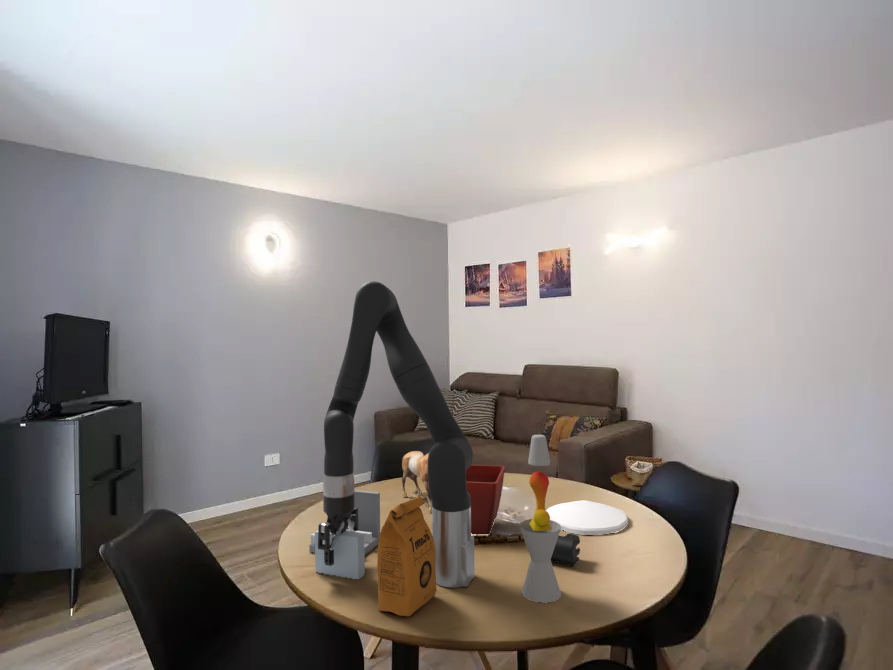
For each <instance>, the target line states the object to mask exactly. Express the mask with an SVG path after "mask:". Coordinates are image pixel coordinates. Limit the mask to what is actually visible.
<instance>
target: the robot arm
mask: <svg viewBox="0 0 893 670" xmlns="http://www.w3.org/2000/svg"><path fill="white" fill-rule="evenodd" d="M406 324H407V323H406V321H405V319H404V316H403V314H402V311H401V308H400V306H399V302H398V299H397V297H396V295H395V293H394V292H393V291H392V290H391V289H390V288H389V287H387V286H386V285H385V284H384V283H381V282H379V281H374V280H371V281H367V282H365V283H363V284H362V285H360V287H359V288H358V290H357V291H356V293H355V299H354V304H353V310H352V320H351V326H350V329H349V330H350V331H349V336H348V339H347V340H348V341H347V344H346V349H345V352H344V357H343V360H342V362H341V367H340V370H339V373H338V376H337V379H336V383H335V386H334V391H333V396H332V398H331V400H330V404H328V405H329V406H328V409H327V412H326V415H325V417H324V419H323V420H324V421H323V435H324V436H323V437H324V439H323V440H324V451H325V453H324V459H323V463H324V464H323V465H324V466H323V470H324V471H323V474H324V475H323V481H322V482H323V484H322V487H323V488H322V489H323V490H322V491H323V492H322V493H323V495H322V496H323V498H322V501H323V502H322V503H323V504H322V507H323V508H322V509H323V512H324V513H325V514H326V516H327V518H326V522H325V523H321V522H320V523H319V524H318V549H320V550H324V563H325V565H328V566H332V565H333V564H334V546H335V543H336V541H338V539H339V536H340V534H341V533H343V532H344V531H351V532H355V531H358V529H359V525H358V508H355V490H356V489H355V476H354V453H353V449H354V447H353V446H354V427H355V425H354V424H355V423H354V420H355V416H356V412H357V408H358V404H359V402H360V401H361V399H362V397H363V394H364V391H365V388H366V384H367V382H368V377H369V373H370V371H371V370H370V369H371V363H372V353H373V345H374V340H375V336H376V333H377V334H378V337H379V339H380V340H381V342H382V345H383V349H384V351H385V356H386V360H387V361H386V362H387V364H388V365H387V366H388V368H389V371H390V374H391V376H392V379H393V381H394V383H395V385H396V388H397V389H398V392H399V394H400V395H401V397H402V399H403V400H404V402H405V403H406V404H407V405H408V406H409V408H410V409H411V410H413V412H414V413H415V414H416V415H417V417H419V418H420V419H421V421H422V422H423V423H424V425H425V426H426V428H427V430H428V432H429V434H430V436H431V440H432V441H433V443H434V445H432V446H431V448H430V450H429V451H428V453H429V455H428V485H429V494H430V497H431V500H432V513H431V525H432V526H431V530H432V531H431V534H432V536H433V539H434V544H435V549H436V562H435V569H436V585H438V586H441V587H444V588H461V587H464V588H466V587H468V586H469V585H470V583H471V582H472V580H473V579H474V577H475V576H476V575H475V573H476V572H475V571H476V570H475V569H476V567H475V536H471V496H470V494H469V492H467V488H466V470H467V469H468V468H469V467H470V466H471V465H473V461H474V460H473V459H474V450H473V447H472V445H471V443H470V441H469V440H468V438H467V436H466V435H465V433H464V432H463V430H462V428H461V427H460V425H459V423H458V422H457V421H456V419H455V417H454V416H453V413H452V412H451V410H450V408H449V405H448V403H447V401H446V399H445V396H444V394H443V392H442V391H441V389H440V387H439V385H438V383H437V379H436V378H435V376H434V373H433V371H432V370H431V367H430V365H429V363H428V361H427V360H426V358H425V356H424V354H423V353H422V350H421V349H420V347H419V345H418V343H417V342H416V341H415V339H414V337H413V336H412V335H411V334H412V333H410V330H409V329H408V326H407V325H406ZM352 522H354V526H353V525H352ZM330 532H331V534H333V535H335V536H331V535H330ZM323 540H324V543H323ZM330 540H332V541H331V544H330Z"/></svg>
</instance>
